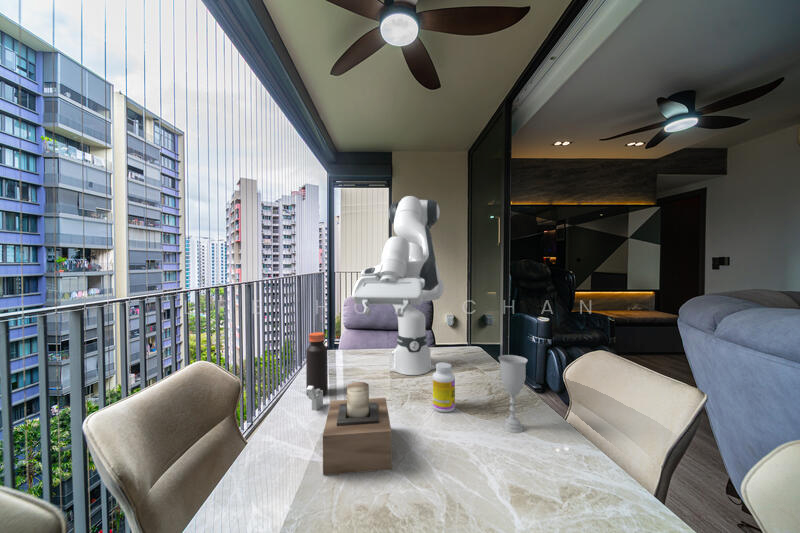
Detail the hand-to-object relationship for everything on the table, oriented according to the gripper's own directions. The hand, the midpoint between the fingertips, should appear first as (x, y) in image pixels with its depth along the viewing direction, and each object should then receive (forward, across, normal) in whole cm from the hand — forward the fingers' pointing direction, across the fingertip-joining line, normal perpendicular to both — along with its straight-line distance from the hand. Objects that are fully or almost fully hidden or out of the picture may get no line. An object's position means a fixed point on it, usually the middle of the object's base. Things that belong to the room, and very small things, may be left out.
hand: (383, 315), depth 82 cm
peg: (+25, +3, -7) cm, 26 cm away
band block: (+30, +3, -11) cm, 32 cm away
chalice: (+18, -34, -24) cm, 45 cm away
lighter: (+19, +22, -22) cm, 37 cm away
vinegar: (+12, +27, -30) cm, 42 cm away
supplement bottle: (+13, -15, -29) cm, 35 cm away
